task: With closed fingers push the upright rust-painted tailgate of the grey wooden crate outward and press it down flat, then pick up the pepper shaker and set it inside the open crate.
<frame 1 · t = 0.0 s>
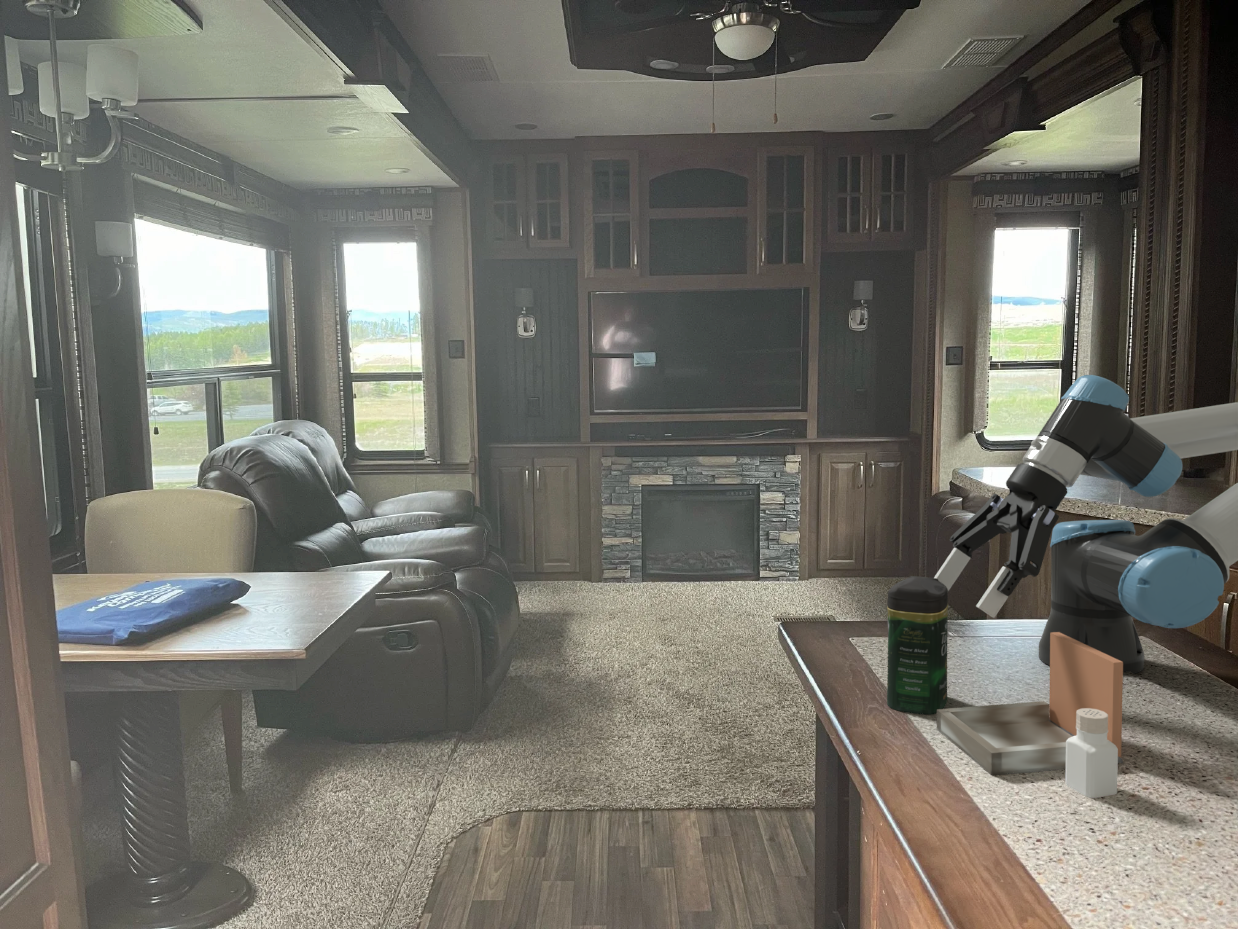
hand: (960, 600, 129), 15 cm above the counter, tool tilted 35°, fingers open, 13 cm apart
pepper shaker: (1090, 796, 102), on the counter
crate: (1019, 752, 114), on the counter
coffee jar: (918, 708, 130), on the counter
tailgate: (1083, 696, 114), point 7 cm above the counter, hinge at 0.0°
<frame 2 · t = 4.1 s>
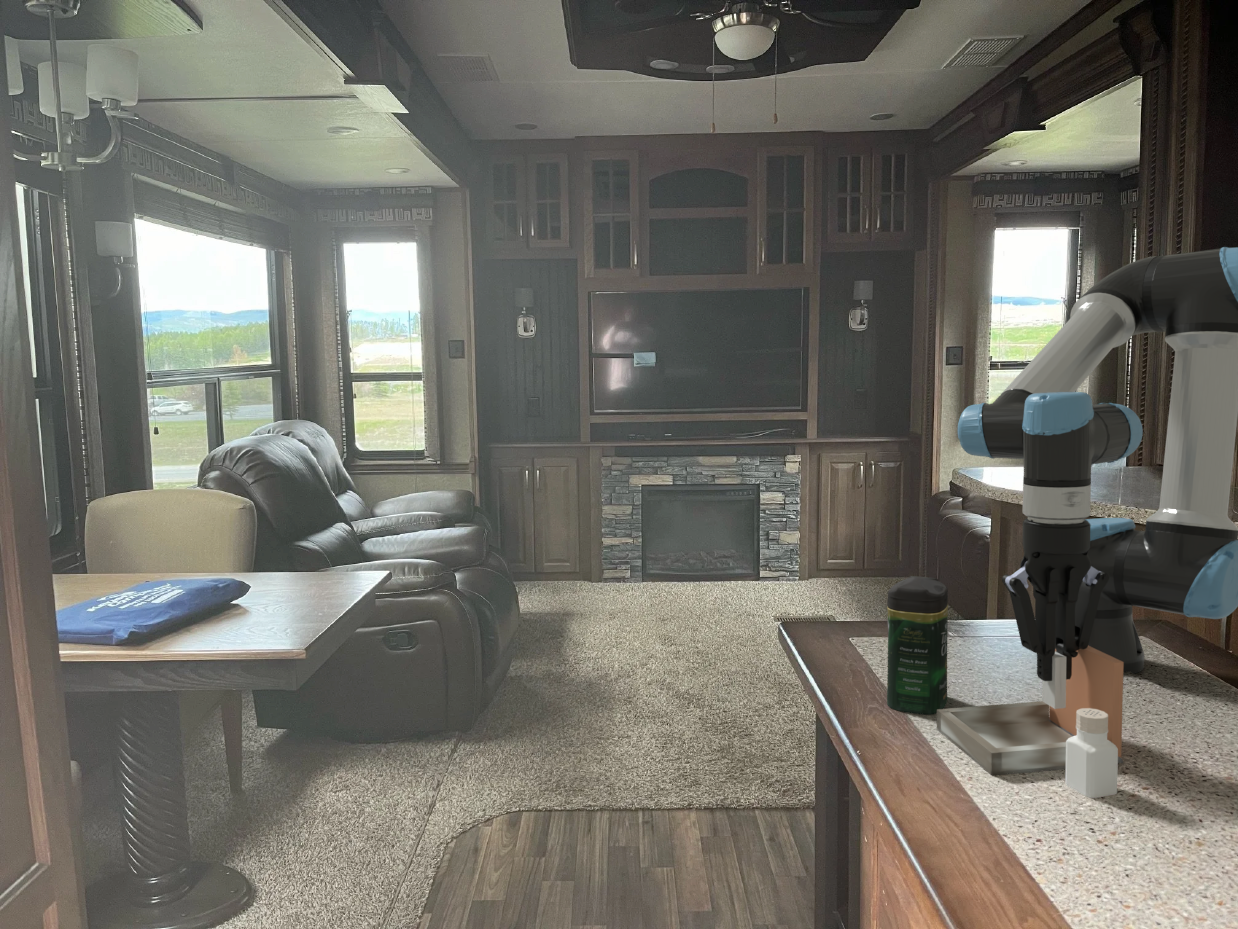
hand: (1053, 704, 114), 6 cm above the counter, tool pointing down, fingers closed
tailgate: (1084, 696, 114), point 7 cm above the counter, hinge at 0.3°, touching gripper
everything else where it was.
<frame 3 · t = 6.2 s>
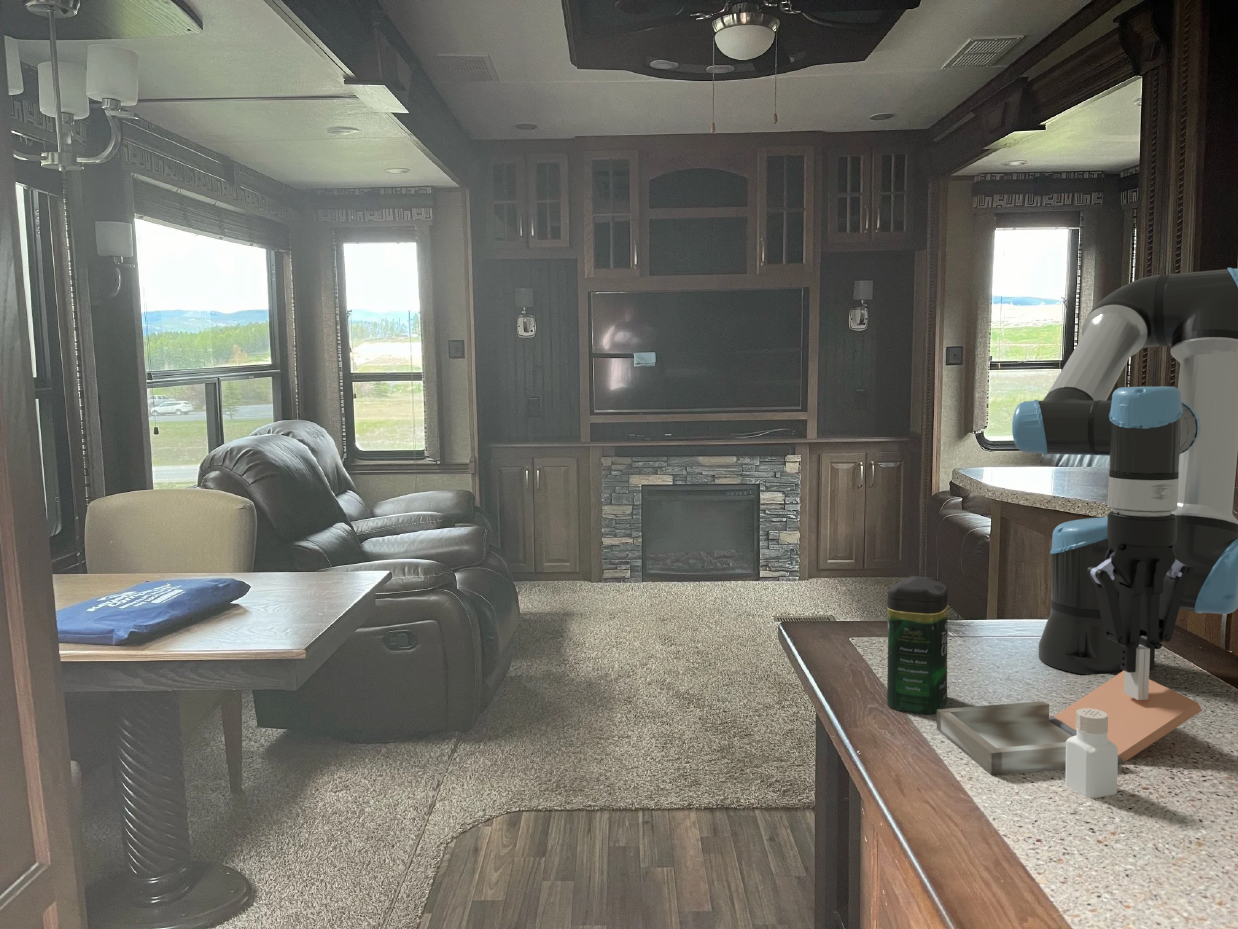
hand: (1135, 695, 115), 6 cm above the counter, tool pointing down, fingers closed
tailgate: (1120, 716, 115), point 4 cm above the counter, hinge at 60.6°
everything else where it was.
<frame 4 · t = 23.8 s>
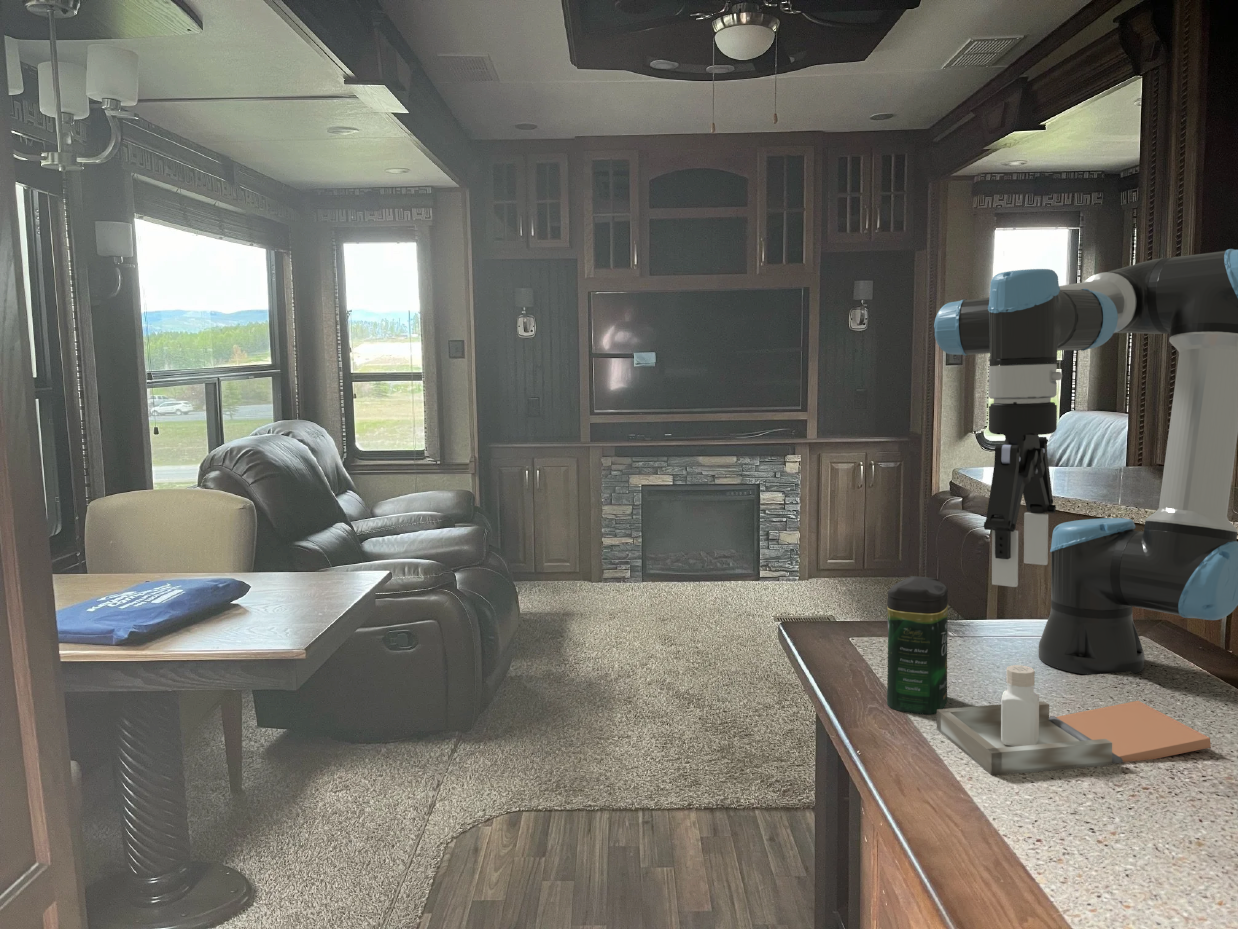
hand: (1021, 574, 111), 23 cm above the counter, tool pointing down, fingers open, 13 cm apart
pepper shaker: (1019, 744, 114), point 1 cm above the counter, touching crate
tailgate: (1125, 732, 115), point 1 cm above the counter, hinge at 83.6°
everything else where it was.
at the end: tailgate at +84° (first picture: +0°); pepper shaker inside the target area on the crate (0.1 cm from its centre), point 1.0 cm above the crate's base; pepper shaker tilted 0° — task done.
